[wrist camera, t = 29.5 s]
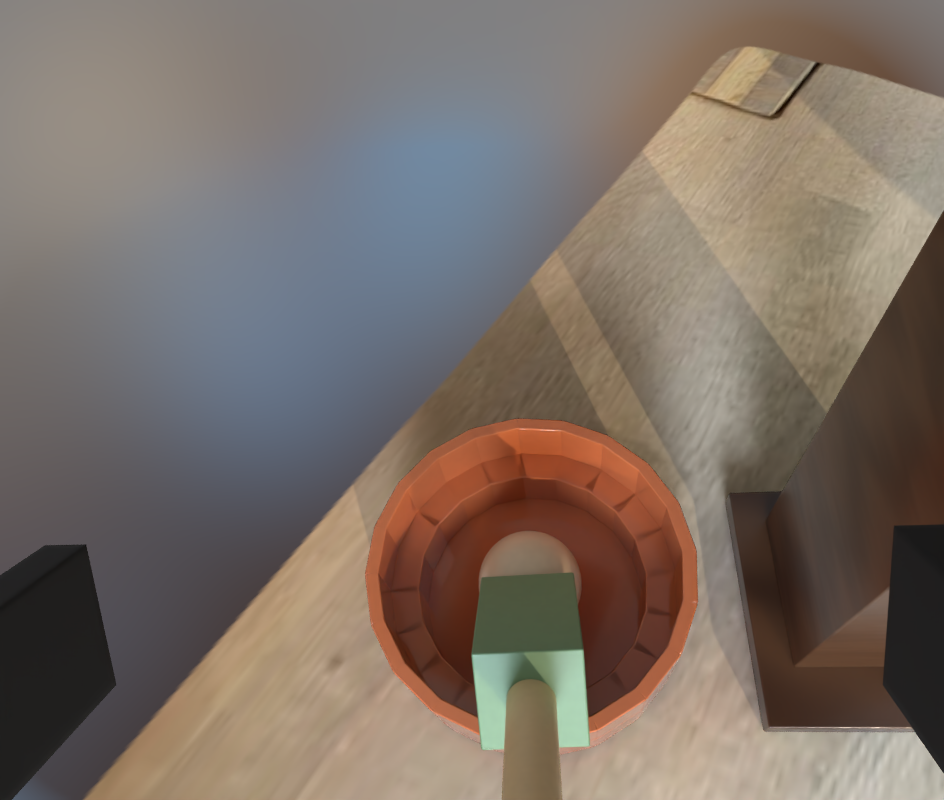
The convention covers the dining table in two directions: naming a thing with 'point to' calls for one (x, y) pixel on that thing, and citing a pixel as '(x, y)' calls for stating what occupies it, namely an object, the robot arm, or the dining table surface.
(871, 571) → the stand
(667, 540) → the bowl
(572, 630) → the green and beige rod
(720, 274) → the dining table surface
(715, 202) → the dining table surface
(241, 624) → the dining table surface
